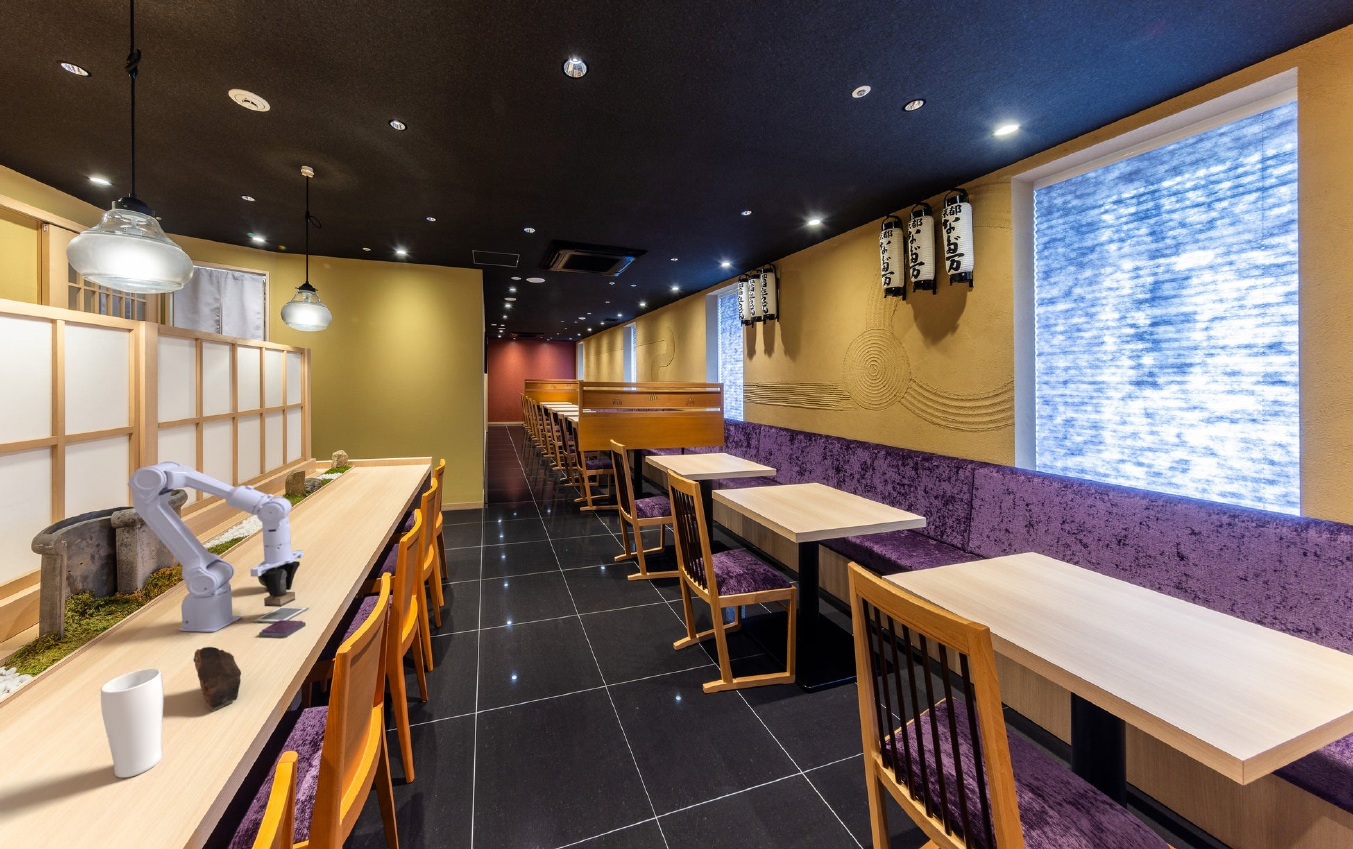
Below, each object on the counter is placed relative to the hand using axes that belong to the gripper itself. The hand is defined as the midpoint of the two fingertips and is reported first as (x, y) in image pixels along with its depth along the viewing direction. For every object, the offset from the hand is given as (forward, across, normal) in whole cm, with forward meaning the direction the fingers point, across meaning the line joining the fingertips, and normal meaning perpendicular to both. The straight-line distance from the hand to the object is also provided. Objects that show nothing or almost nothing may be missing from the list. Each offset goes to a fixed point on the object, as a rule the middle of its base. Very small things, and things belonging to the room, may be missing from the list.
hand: (280, 592), depth 134 cm
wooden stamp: (+3, 0, 0) cm, 3 cm away
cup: (+7, +16, +17) cm, 24 cm away
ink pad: (+6, -8, -7) cm, 13 cm away
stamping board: (+6, 0, 0) cm, 7 cm away
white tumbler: (+7, -52, -22) cm, 57 cm away
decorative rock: (+7, -34, -17) cm, 39 cm away
